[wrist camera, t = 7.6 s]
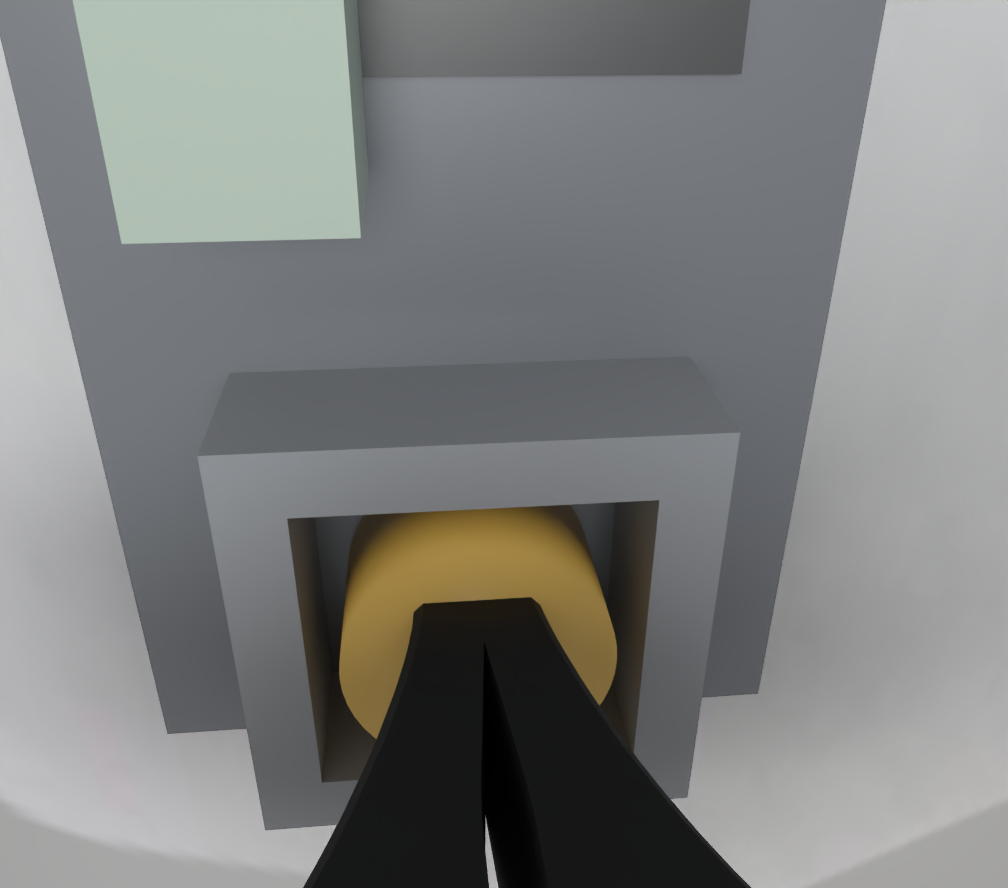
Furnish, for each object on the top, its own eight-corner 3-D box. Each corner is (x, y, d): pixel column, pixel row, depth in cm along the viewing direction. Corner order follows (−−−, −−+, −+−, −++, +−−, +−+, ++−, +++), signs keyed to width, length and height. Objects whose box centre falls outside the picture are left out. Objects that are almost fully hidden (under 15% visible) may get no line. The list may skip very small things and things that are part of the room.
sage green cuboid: (124, -132, 8) (42, -150, 6) (348, -130, 8) (333, -147, 7) (177, 182, 10) (120, 243, 8) (369, 178, 10) (360, 237, 8)
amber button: (338, 467, 11) (327, 563, 10) (593, 455, 12) (626, 547, 10) (357, 663, 13) (349, 775, 11) (581, 649, 13) (608, 757, 12)
